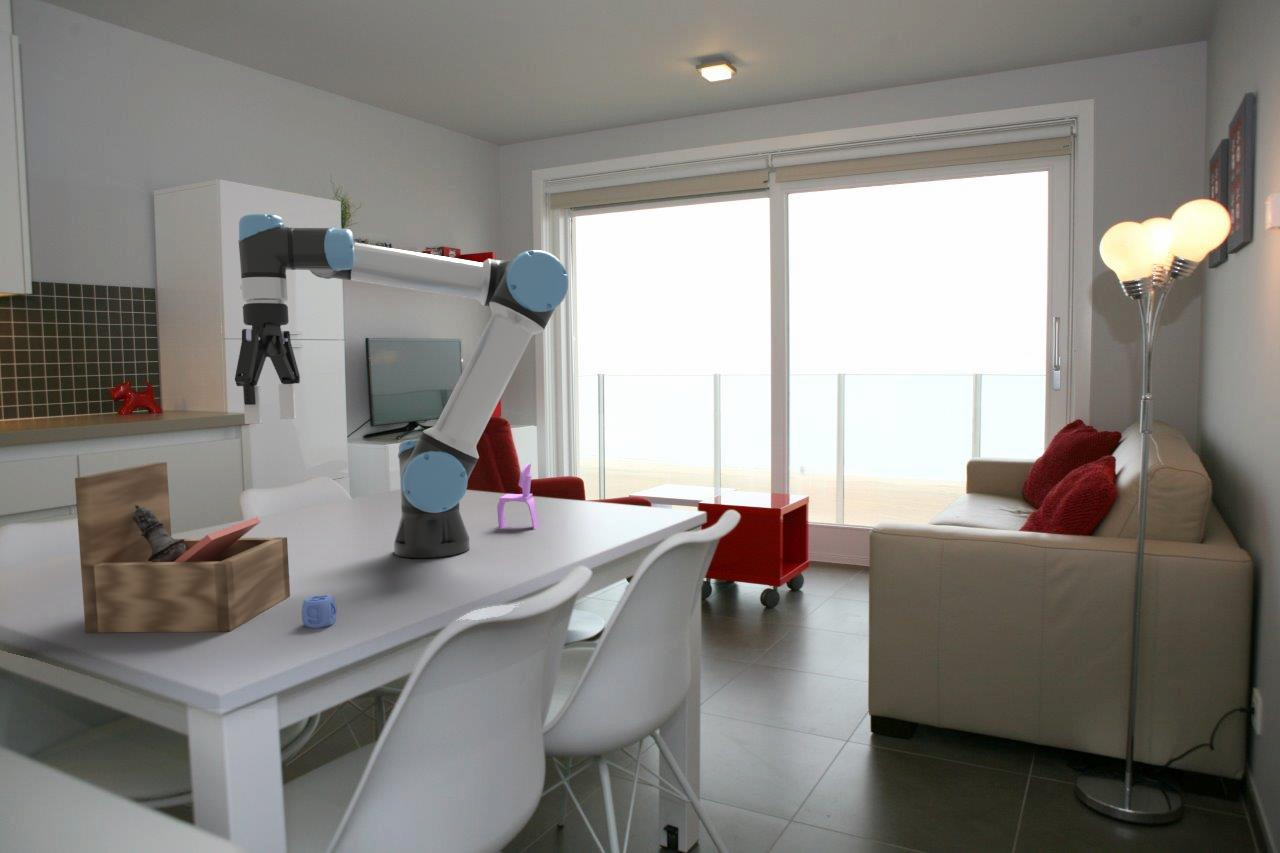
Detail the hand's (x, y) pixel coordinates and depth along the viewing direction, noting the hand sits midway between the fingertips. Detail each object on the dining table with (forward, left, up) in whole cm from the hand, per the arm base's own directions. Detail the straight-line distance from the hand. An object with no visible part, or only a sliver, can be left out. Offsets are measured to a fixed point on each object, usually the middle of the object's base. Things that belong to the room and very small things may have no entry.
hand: (271, 421), depth 165 cm
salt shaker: (+5, +23, -22) cm, 32 cm away
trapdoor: (+1, +24, -19) cm, 30 cm away
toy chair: (-35, -48, -29) cm, 66 cm away
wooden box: (+3, +24, -29) cm, 37 cm away
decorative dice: (-20, +30, -29) cm, 46 cm away
